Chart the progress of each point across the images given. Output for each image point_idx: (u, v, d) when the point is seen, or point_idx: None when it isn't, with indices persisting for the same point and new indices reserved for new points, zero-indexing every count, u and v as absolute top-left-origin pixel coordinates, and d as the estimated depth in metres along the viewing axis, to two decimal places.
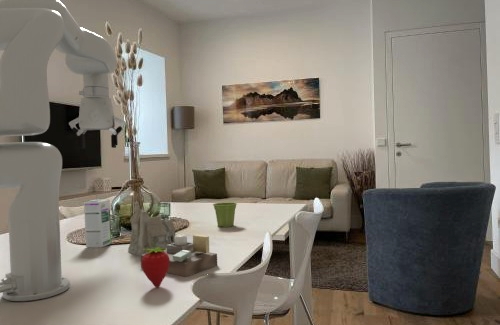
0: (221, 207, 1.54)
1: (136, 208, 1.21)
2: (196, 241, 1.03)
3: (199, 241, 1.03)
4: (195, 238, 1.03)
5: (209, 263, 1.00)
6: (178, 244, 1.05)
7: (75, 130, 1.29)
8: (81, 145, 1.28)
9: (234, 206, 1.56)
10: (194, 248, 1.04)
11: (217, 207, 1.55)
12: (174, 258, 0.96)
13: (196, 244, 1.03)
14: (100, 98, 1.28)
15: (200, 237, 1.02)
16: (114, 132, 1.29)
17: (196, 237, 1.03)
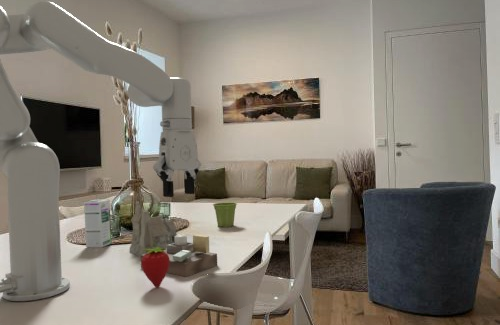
0: (221, 207, 1.54)
1: (137, 208, 1.21)
2: (196, 241, 1.03)
3: (199, 241, 1.03)
4: (195, 238, 1.03)
5: (209, 263, 1.00)
6: (178, 244, 1.05)
7: (164, 174, 1.01)
8: (172, 193, 1.02)
9: (234, 206, 1.56)
10: (194, 248, 1.04)
11: (217, 207, 1.55)
12: (174, 258, 0.96)
13: (196, 244, 1.03)
14: (189, 132, 1.06)
15: (200, 237, 1.02)
16: (194, 175, 1.09)
17: (196, 237, 1.03)
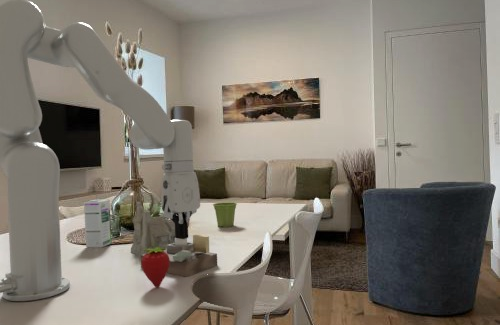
0: (221, 207, 1.54)
1: (139, 208, 1.21)
2: (196, 241, 1.03)
3: (199, 241, 1.03)
4: (195, 238, 1.03)
5: (209, 263, 1.00)
6: None
7: (176, 217, 1.04)
8: (184, 235, 1.05)
9: (234, 206, 1.56)
10: (194, 248, 1.04)
11: (217, 207, 1.55)
12: (174, 258, 0.96)
13: (196, 244, 1.03)
14: (191, 174, 1.06)
15: (200, 237, 1.02)
16: (188, 219, 1.07)
17: (196, 237, 1.03)
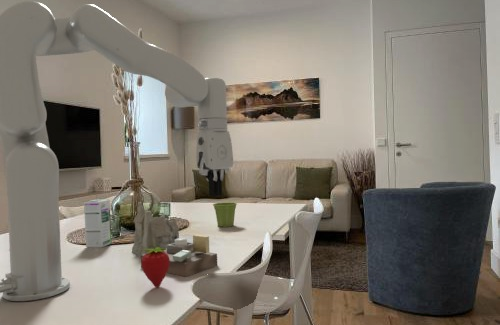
0: (221, 207, 1.54)
1: (140, 208, 1.20)
2: (196, 241, 1.03)
3: (199, 241, 1.03)
4: (195, 238, 1.03)
5: (209, 263, 1.00)
6: None
7: (211, 174, 1.05)
8: (219, 192, 1.07)
9: (234, 206, 1.56)
10: (194, 248, 1.04)
11: (217, 207, 1.55)
12: (174, 258, 0.96)
13: (196, 244, 1.03)
14: (225, 132, 1.07)
15: (200, 237, 1.02)
16: (221, 177, 1.08)
17: (196, 237, 1.03)
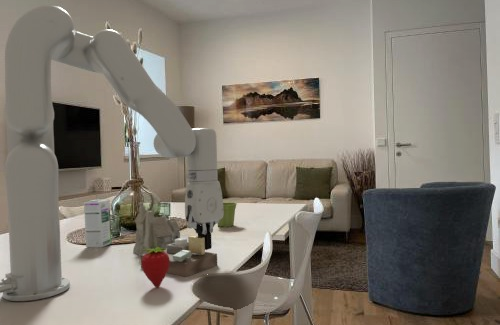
0: None
1: (141, 208, 1.20)
2: (191, 242, 1.02)
3: (194, 242, 1.01)
4: (191, 240, 1.02)
5: (209, 263, 1.00)
6: None
7: (200, 228, 1.02)
8: (208, 246, 1.03)
9: (234, 206, 1.56)
10: (189, 249, 1.02)
11: None
12: (174, 258, 0.96)
13: (191, 245, 1.02)
14: (215, 183, 1.04)
15: (195, 238, 1.01)
16: (211, 229, 1.04)
17: (191, 238, 1.02)
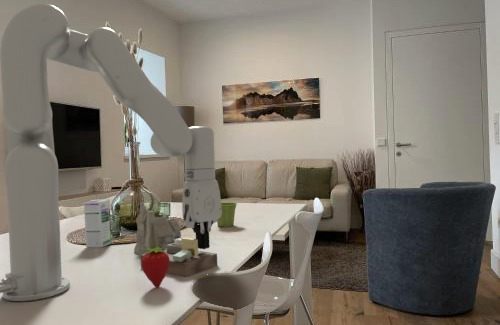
0: (221, 207, 1.54)
1: (142, 208, 1.20)
2: (184, 244, 1.00)
3: (187, 244, 0.99)
4: (184, 241, 1.00)
5: (209, 263, 1.00)
6: None
7: (198, 227, 1.01)
8: (206, 245, 1.02)
9: (234, 206, 1.56)
10: None
11: None
12: (174, 258, 0.96)
13: (184, 247, 1.00)
14: (213, 182, 1.03)
15: (188, 240, 0.99)
16: (209, 229, 1.04)
17: (184, 240, 1.00)
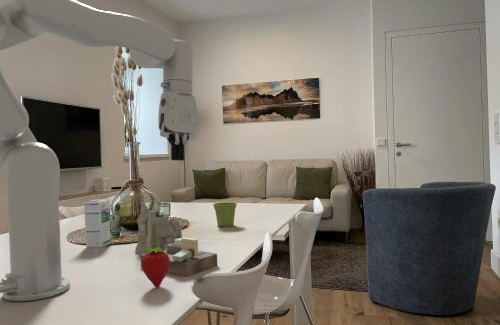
0: (221, 207, 1.54)
1: (143, 208, 1.20)
2: (184, 244, 1.00)
3: (187, 244, 0.99)
4: (184, 241, 1.00)
5: (209, 263, 1.00)
6: None
7: (173, 137, 1.04)
8: (180, 156, 1.05)
9: (234, 206, 1.56)
10: None
11: (217, 207, 1.55)
12: (174, 258, 0.96)
13: (184, 247, 1.00)
14: (190, 96, 1.06)
15: (188, 240, 0.99)
16: (184, 142, 1.06)
17: (184, 240, 1.00)
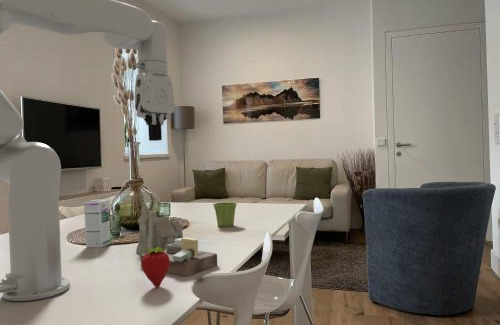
0: (221, 207, 1.54)
1: (144, 208, 1.19)
2: (184, 244, 1.00)
3: (187, 244, 0.99)
4: (184, 241, 1.00)
5: (209, 263, 1.00)
6: None
7: (149, 118, 1.05)
8: (158, 136, 1.06)
9: (234, 206, 1.56)
10: None
11: (217, 207, 1.55)
12: (174, 258, 0.96)
13: (184, 247, 1.00)
14: (165, 76, 1.07)
15: (188, 240, 0.99)
16: (161, 122, 1.08)
17: (184, 240, 1.00)
